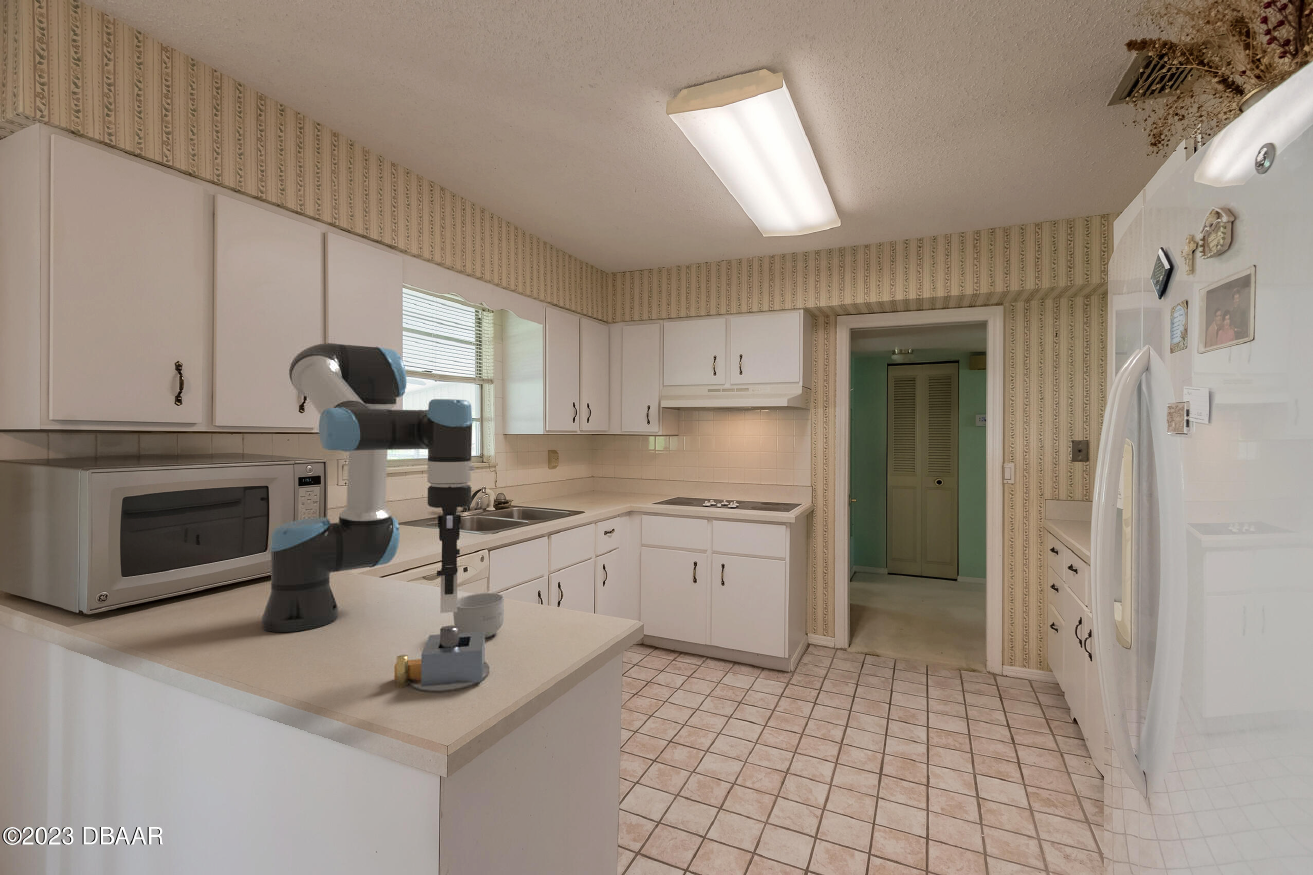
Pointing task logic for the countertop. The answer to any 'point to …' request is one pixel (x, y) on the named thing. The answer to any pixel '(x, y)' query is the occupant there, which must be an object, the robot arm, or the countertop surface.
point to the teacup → (480, 613)
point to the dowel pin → (402, 670)
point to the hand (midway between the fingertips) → (448, 600)
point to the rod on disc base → (447, 640)
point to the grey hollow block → (449, 661)
